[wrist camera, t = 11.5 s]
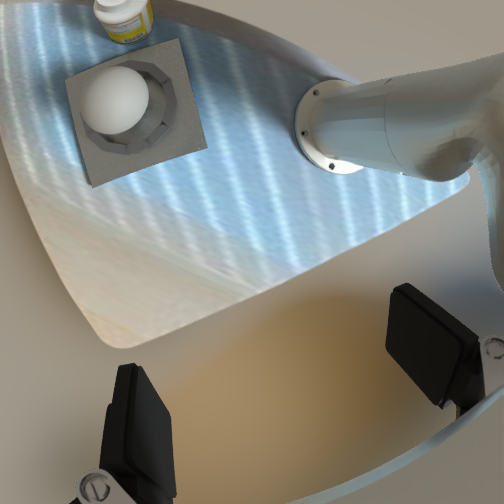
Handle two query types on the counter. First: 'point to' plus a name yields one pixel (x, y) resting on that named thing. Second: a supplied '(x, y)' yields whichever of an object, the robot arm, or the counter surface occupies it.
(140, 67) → the socket
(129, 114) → the lightbulb
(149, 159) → the plate
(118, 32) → the supplement bottle
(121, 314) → the counter surface
